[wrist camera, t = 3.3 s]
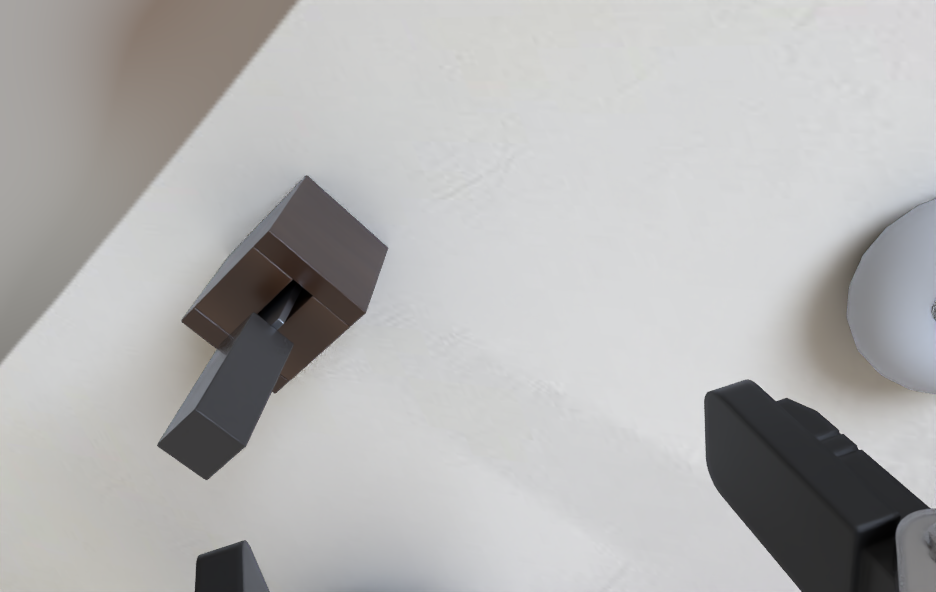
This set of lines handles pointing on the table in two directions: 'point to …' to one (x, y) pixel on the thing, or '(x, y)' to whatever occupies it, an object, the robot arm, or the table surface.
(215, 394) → the knife
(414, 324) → the table surface
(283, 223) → the knife block
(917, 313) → the donut
